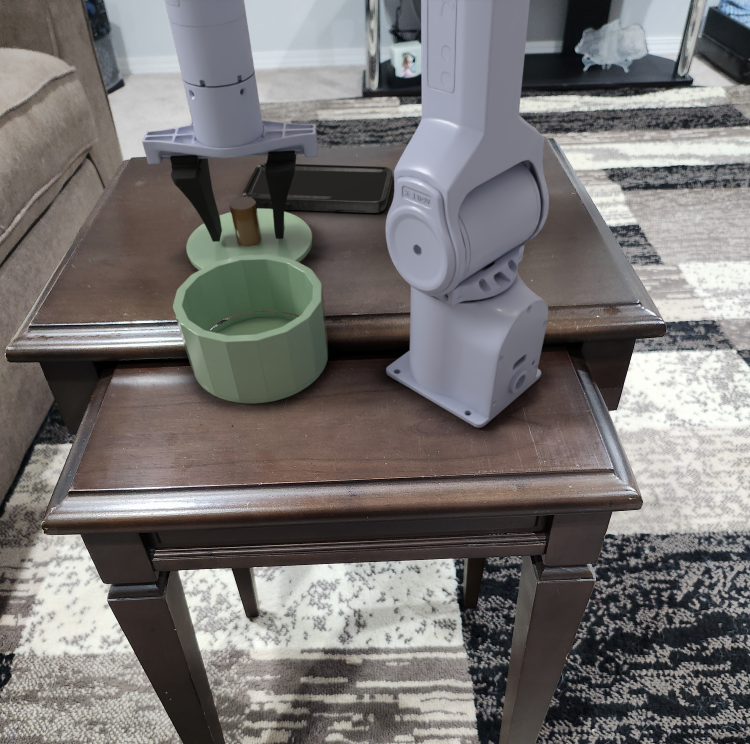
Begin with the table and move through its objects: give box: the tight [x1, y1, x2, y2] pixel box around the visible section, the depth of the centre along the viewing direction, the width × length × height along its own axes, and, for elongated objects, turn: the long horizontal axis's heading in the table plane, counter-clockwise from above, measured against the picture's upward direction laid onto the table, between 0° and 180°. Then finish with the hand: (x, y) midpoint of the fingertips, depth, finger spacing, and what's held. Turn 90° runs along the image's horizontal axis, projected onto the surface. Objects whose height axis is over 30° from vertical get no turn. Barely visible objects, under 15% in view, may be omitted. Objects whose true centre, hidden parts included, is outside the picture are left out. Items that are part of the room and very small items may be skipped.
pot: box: [172, 254, 329, 404], centre depth 52 cm, size 11×11×6 cm
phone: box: [242, 162, 393, 214], centre depth 71 cm, size 8×1×15 cm
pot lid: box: [185, 196, 313, 271], centre depth 63 cm, size 12×12×5 cm
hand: (248, 234), depth 63 cm, fingers open, 5 cm apart
